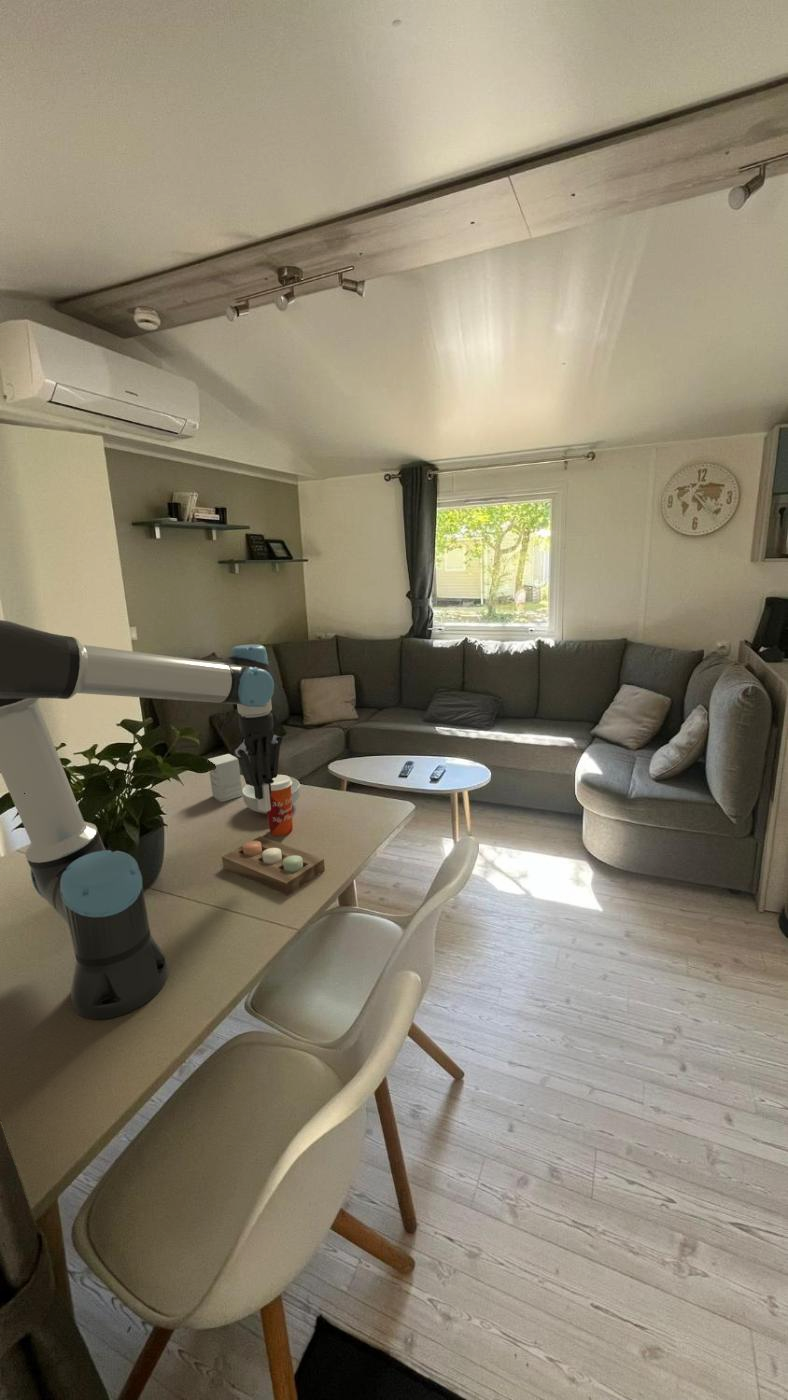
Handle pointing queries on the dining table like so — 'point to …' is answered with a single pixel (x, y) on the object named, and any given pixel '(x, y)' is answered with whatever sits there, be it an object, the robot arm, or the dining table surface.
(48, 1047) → the dining table surface
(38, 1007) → the dining table surface
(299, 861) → the pale green rounded block
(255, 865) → the walnut panel
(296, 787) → the cereal bowl
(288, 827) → the coffee cup
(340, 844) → the dining table surface
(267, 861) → the cream rounded piece
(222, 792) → the supplement box
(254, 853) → the brown egg
